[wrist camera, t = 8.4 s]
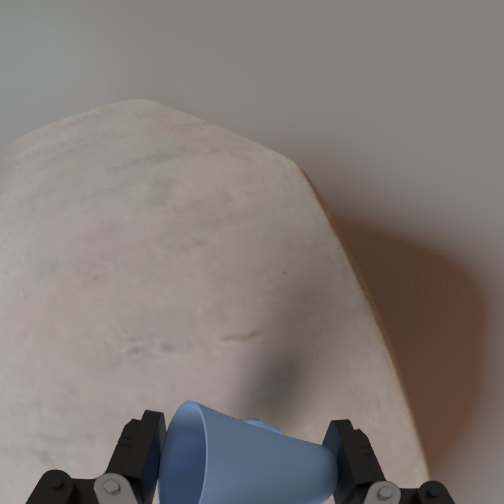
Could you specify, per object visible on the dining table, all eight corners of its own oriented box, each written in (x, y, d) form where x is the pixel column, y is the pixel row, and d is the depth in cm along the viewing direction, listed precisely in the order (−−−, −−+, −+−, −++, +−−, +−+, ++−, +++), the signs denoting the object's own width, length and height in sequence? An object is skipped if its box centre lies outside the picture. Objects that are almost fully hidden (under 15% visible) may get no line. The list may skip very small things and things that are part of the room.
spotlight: (173, 476, 13) (291, 495, 13) (115, 534, 4) (358, 562, 4) (190, 402, 15) (305, 422, 15) (144, 386, 7) (390, 422, 7)
